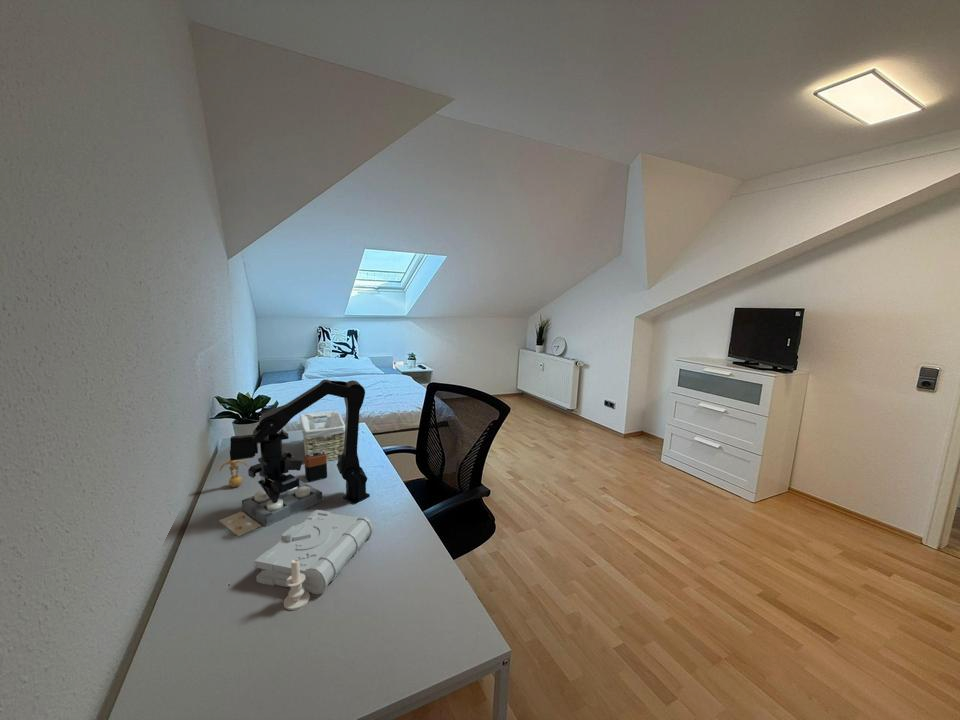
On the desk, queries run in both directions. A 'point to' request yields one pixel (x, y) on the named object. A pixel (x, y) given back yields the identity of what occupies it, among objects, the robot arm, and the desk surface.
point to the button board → (289, 505)
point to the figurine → (236, 479)
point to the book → (315, 550)
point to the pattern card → (239, 523)
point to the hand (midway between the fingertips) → (275, 502)
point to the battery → (315, 466)
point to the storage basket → (323, 434)
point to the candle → (296, 589)
